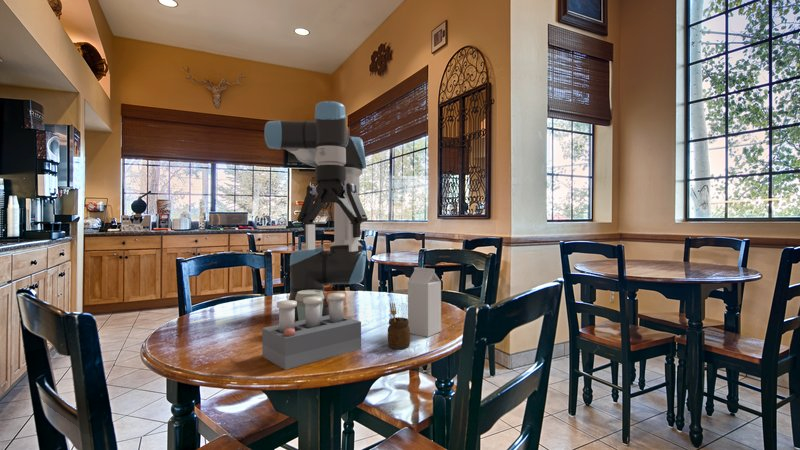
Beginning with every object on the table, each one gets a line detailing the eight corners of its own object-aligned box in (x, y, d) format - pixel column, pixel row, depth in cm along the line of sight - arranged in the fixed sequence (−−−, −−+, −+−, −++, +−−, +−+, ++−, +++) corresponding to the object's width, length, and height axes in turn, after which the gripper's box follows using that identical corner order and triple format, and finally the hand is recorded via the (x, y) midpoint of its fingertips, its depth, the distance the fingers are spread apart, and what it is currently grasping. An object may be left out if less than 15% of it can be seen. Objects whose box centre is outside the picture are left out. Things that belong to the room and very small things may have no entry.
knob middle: (300, 325, 101) (299, 298, 101) (316, 322, 104) (315, 295, 104) (309, 329, 97) (309, 300, 97) (325, 326, 100) (325, 298, 100)
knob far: (324, 321, 105) (324, 294, 105) (338, 318, 108) (338, 292, 108) (333, 324, 102) (333, 296, 102) (348, 321, 105) (348, 294, 105)
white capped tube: (273, 331, 96) (273, 302, 96) (291, 327, 99) (291, 299, 99) (282, 335, 92) (282, 305, 92) (300, 331, 96) (300, 302, 96)
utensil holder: (414, 344, 107) (414, 299, 106) (402, 351, 101) (402, 304, 101) (395, 341, 110) (394, 297, 109) (382, 347, 104) (382, 301, 104)
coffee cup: (318, 336, 114) (317, 294, 114) (290, 335, 116) (289, 294, 116) (329, 328, 122) (328, 289, 122) (303, 327, 124) (302, 288, 124)
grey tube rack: (262, 356, 98) (262, 323, 98) (335, 338, 112) (335, 309, 112) (285, 369, 89) (285, 333, 89) (361, 348, 103) (361, 317, 103)
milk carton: (428, 337, 113) (427, 270, 113) (407, 333, 117) (407, 268, 117) (441, 331, 118) (441, 267, 118) (421, 328, 123) (421, 266, 122)
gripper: (283, 167, 103) (283, 249, 103) (363, 159, 91) (364, 253, 91) (303, 170, 110) (304, 248, 110) (381, 163, 97) (381, 250, 98)
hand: (331, 250), depth 100 cm, fingers open, 13 cm apart
